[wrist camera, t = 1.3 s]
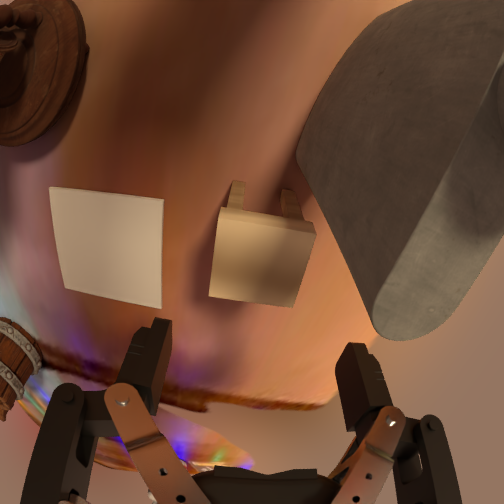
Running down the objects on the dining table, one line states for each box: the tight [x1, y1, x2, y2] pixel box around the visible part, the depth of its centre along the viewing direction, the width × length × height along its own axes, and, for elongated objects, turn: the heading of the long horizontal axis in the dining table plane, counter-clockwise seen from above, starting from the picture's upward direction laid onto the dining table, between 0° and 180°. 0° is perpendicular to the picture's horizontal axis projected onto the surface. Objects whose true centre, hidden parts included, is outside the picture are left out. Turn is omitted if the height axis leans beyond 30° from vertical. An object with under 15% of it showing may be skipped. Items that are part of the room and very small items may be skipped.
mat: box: [49, 187, 164, 309], centre depth 27 cm, size 12×12×1 cm
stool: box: [209, 181, 317, 308], centre depth 22 cm, size 6×6×8 cm
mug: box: [0, 317, 42, 421], centre depth 31 cm, size 12×14×15 cm
